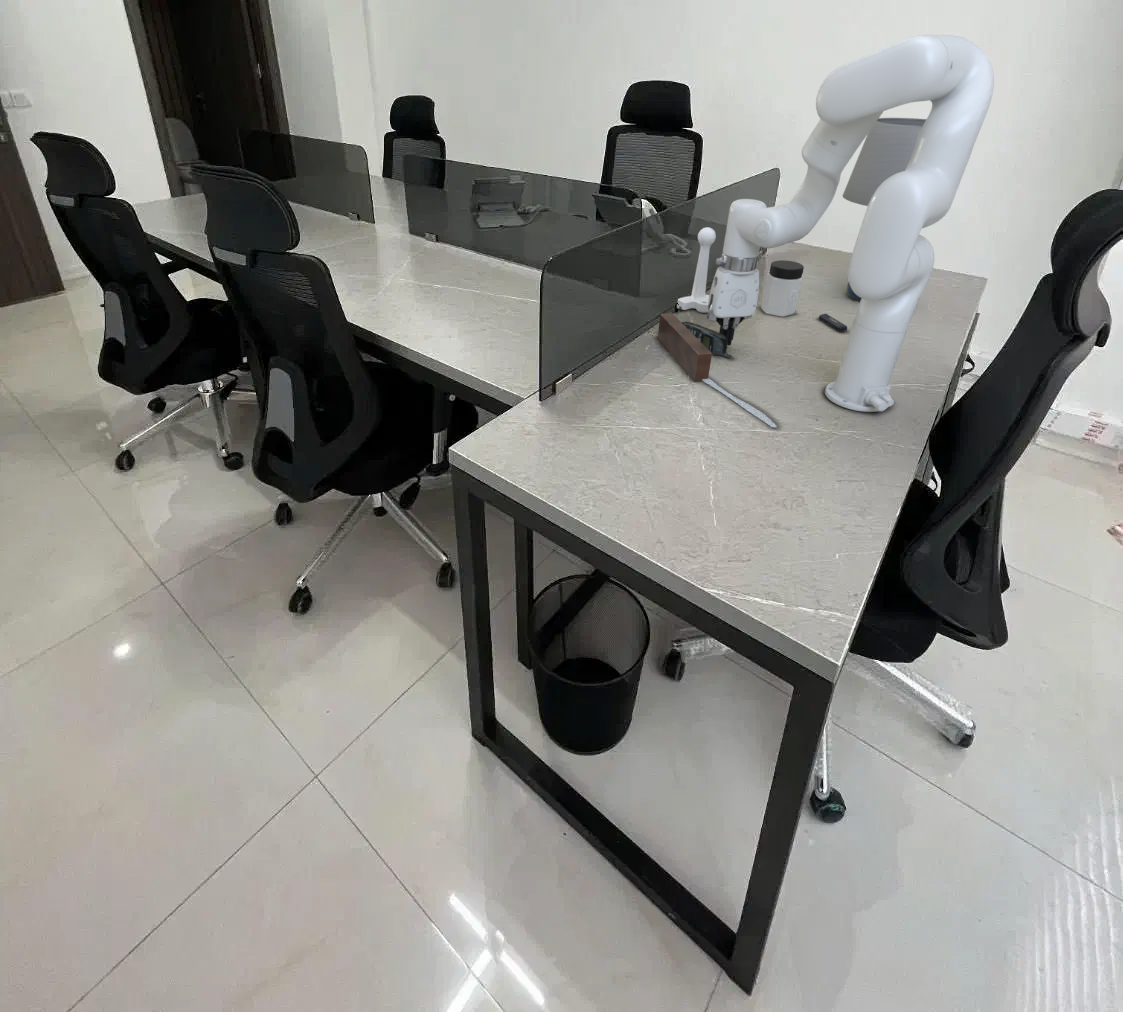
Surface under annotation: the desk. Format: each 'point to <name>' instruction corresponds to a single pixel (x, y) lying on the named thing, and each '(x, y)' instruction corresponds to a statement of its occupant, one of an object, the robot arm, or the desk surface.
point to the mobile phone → (709, 338)
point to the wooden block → (684, 347)
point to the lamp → (881, 160)
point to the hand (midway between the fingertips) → (724, 343)
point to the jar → (782, 288)
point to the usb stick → (833, 322)
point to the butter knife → (741, 403)
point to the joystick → (700, 275)
